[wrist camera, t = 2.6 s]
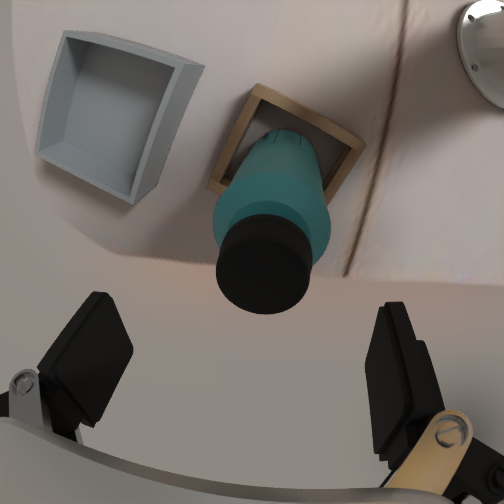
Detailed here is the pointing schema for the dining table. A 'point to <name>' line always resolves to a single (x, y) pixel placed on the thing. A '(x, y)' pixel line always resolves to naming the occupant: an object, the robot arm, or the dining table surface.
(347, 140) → the collar
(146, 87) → the bin
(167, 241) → the dining table surface
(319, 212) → the beverage bottle
